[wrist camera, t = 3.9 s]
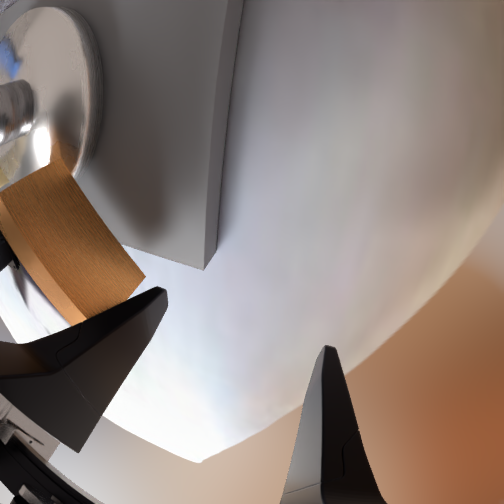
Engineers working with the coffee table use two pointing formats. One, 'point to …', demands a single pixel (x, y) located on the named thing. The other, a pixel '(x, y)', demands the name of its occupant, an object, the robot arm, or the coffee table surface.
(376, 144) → the coffee table surface
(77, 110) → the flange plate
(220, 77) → the base plate
